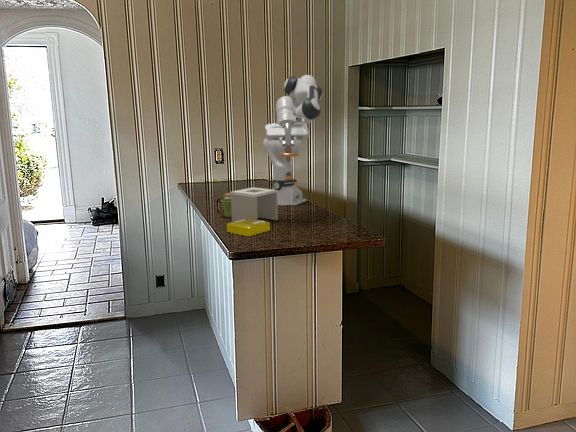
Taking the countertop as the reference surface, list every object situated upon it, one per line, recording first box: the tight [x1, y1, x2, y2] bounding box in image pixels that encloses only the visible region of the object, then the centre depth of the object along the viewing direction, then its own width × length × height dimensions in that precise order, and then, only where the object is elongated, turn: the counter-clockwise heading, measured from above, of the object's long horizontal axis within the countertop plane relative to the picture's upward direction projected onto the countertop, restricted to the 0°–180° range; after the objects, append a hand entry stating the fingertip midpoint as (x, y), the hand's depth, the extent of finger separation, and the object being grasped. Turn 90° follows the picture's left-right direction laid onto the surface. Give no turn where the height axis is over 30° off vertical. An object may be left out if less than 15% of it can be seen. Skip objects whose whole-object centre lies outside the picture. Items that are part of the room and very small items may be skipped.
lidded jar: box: [223, 191, 232, 199], centre depth 292 cm, size 11×11×9 cm
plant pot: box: [220, 198, 232, 218], centre depth 268 cm, size 9×9×9 cm
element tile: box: [226, 218, 271, 237], centre depth 236 cm, size 15×15×5 cm
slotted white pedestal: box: [230, 187, 279, 222], centre depth 255 cm, size 16×16×15 cm
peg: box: [278, 124, 300, 180], centre depth 244 cm, size 10×10×26 cm
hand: (288, 145), depth 243 cm, fingers closed on peg, 3 cm apart
